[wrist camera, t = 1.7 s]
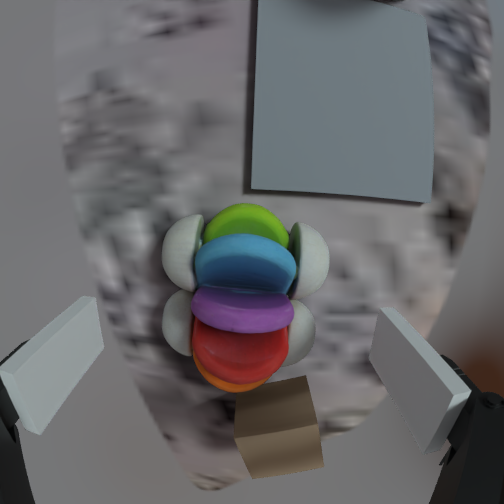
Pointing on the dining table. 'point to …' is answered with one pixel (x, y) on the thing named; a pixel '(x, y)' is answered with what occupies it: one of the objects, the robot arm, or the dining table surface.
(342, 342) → the dining table surface
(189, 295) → the rainbow wheeled toy
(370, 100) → the felt mat
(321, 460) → the walnut block
